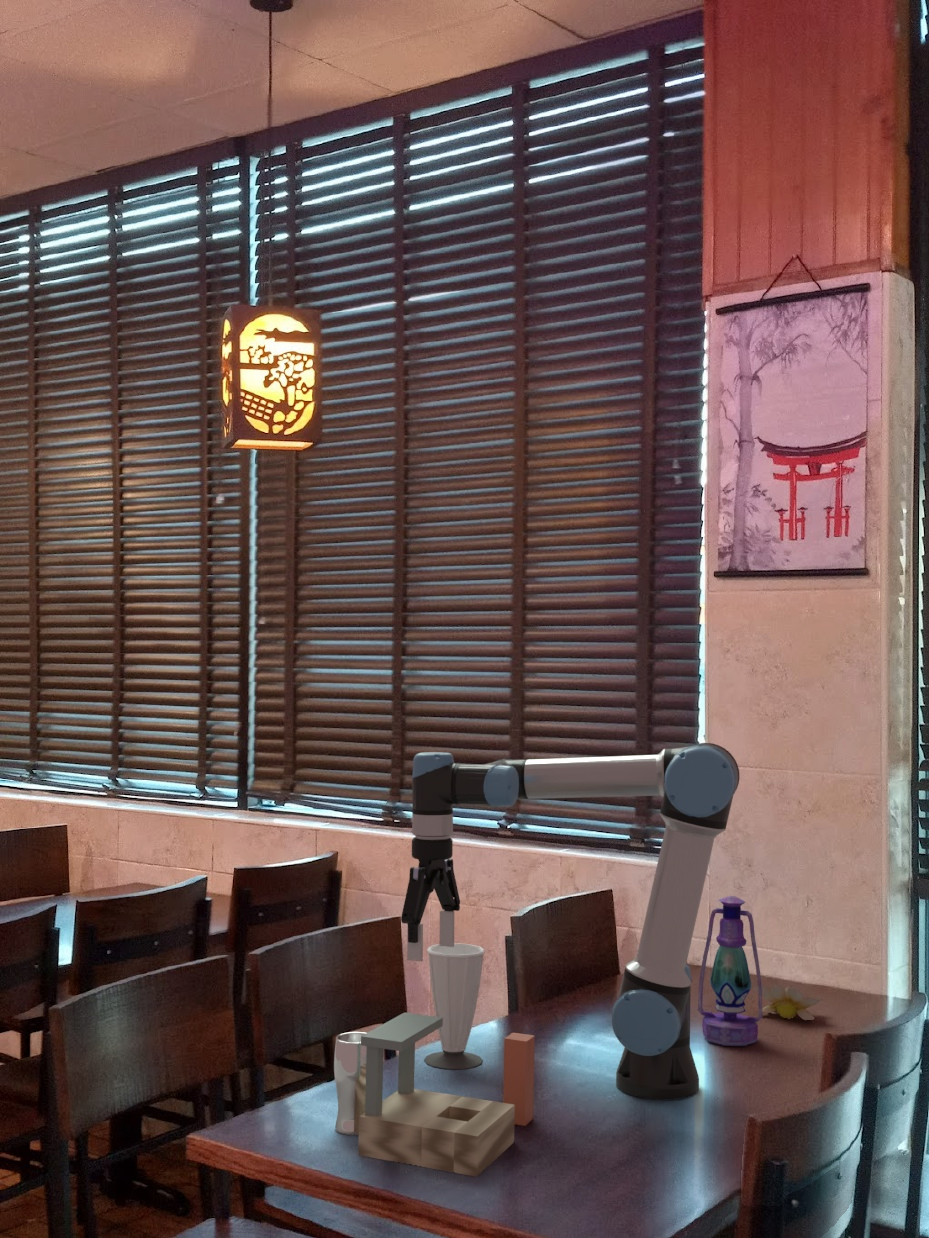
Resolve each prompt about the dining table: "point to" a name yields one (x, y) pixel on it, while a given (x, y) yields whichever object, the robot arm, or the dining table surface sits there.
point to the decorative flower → (788, 1001)
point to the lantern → (730, 979)
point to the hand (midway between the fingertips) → (431, 953)
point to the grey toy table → (394, 1037)
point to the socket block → (438, 1131)
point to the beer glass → (350, 1081)
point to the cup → (455, 1002)
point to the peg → (519, 1075)
